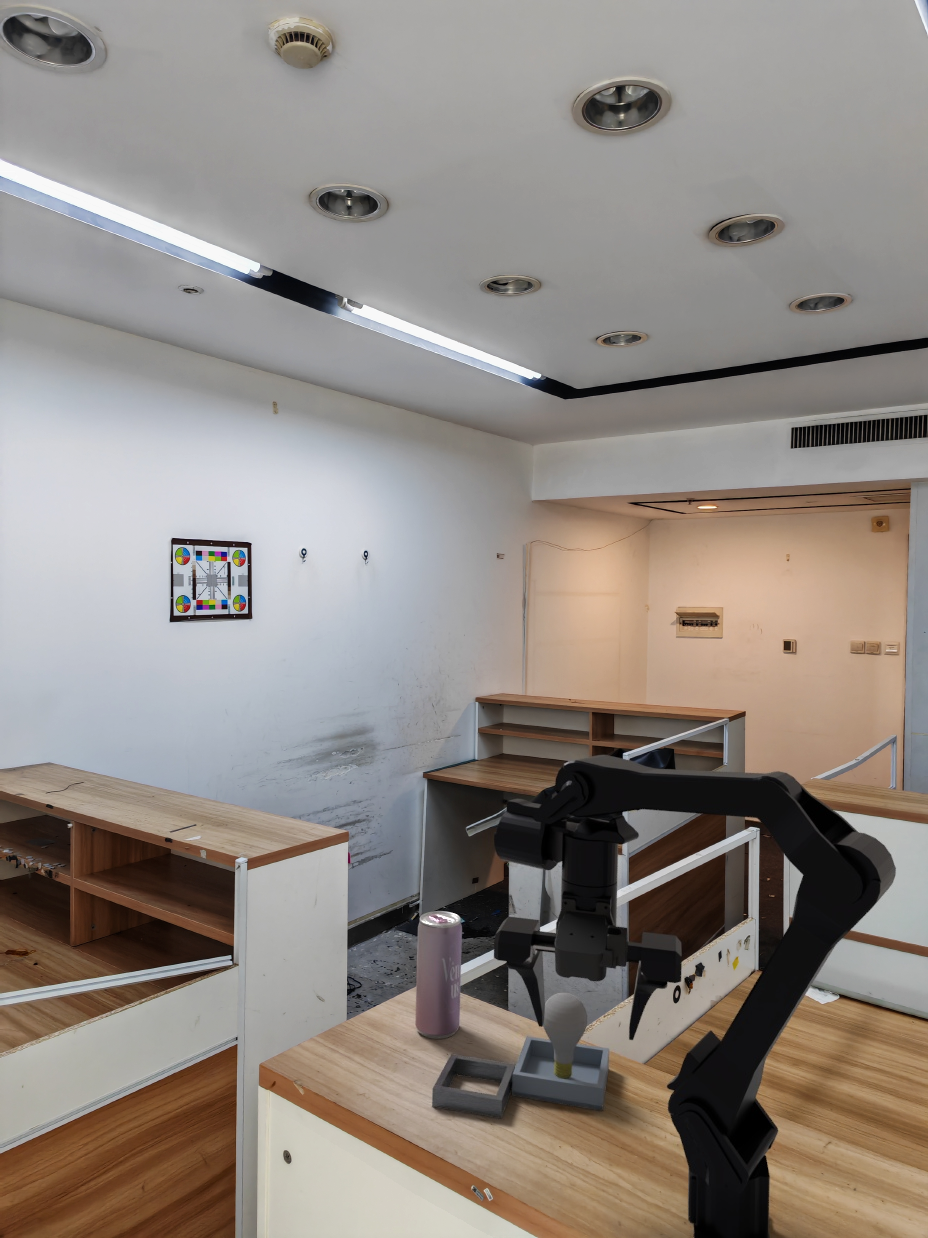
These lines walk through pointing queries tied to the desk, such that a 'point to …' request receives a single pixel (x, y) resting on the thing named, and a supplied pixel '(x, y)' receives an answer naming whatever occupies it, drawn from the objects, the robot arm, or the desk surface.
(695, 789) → the robot arm
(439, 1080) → the frame
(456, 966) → the beverage can
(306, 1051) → the desk surface
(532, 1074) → the parts tray
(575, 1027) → the light bulb
